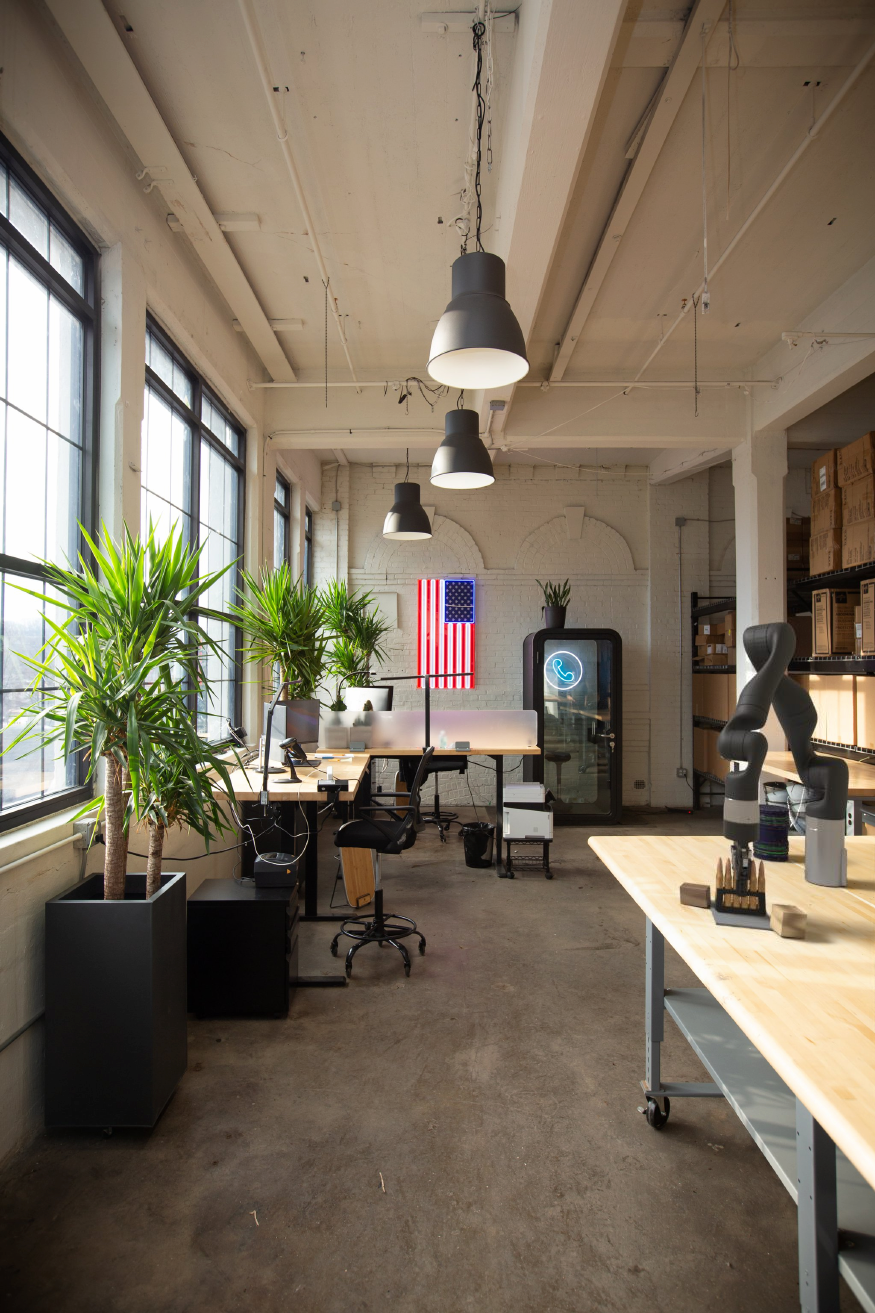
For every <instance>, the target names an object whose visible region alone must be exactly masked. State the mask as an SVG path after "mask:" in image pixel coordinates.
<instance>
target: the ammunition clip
mask: <svg viewBox="0 0 875 1313" xmlns="http://www.w3.org/2000/svg"><path fill="white" fill-rule="evenodd" d="M751 860H752V864H751V871H750V879H749V880H748V881H747V896H746V897H738V896H737V895H736V878H735V876H736V869H735V868H734V874H733V873H732V863H731V859H730V857H727V859H726V862H725V868H724V866H723V859H722V857H721V856H719V857H718V859H717V865H716V874H715V892H714V895H715V896H714V900H715V906H714V908H715V910H716V911H726V912H735V913H745V914H755V915H766V913H767V904H766V902H767V901H766V900H767V898H766V897H767V896H766V878H765V865H764V862H763V861H764V860H760V862H759V865H758V873H757V866H756V862H755V860H754V859H751ZM737 865H738V864H737ZM723 868H724V869H723ZM724 870H725V871H724ZM732 874H733V875H732ZM742 874H745V873H744V872H742ZM757 874H758V876H757ZM723 901H724V903H723ZM748 904H749V906H748Z"/></svg>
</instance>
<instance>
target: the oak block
mask: <svg viewBox="0 0 875 1313" xmlns="http://www.w3.org/2000/svg"><path fill="white" fill-rule="evenodd" d="M807 920H808V913H806V912H804V911H803V910H802V909H800V908H799V907H798V906H795V905H790V904H778V903H771V912H770V927H771V928H772V929H773V930H774V931H775V933H776V934H778V935H779V936H780V937H787V938H798V939H806V931H807V930H806V929H807ZM774 931H773V932H774Z"/></svg>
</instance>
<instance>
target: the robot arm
mask: <svg viewBox="0 0 875 1313" xmlns="http://www.w3.org/2000/svg"><path fill="white" fill-rule="evenodd" d="M742 643H743V648H744V650H745V653H746V655H747V658H748V660H749V662H750V663H751V666H752V667H753V669H754V670H755V672H756V674H755V675H754V676H753V677H752V678H751V679H750V680H749V681H748V682H746V684H745V686H744V687H743V688H742V690H741V691H740V694H739V696H738V701H737V703H736V707H735V710H734V713H733V714H732V716H731V718H730V719H729V720H728V722H726V724H725V726H724V727H723V728H722V730H721V731H720V733H719V735H718V737H717V738H718V739H717V742H716V748H717V749H716V750H717V753H718V754H719V756H720V757H721V758H722V759H724V760H728V761H735V762H736V761H737V762H744V763H745V762H746V763H747V766H746V767H745V769H742V770H733V771H729V772H727V773H726V775H725V778H724V780H725V781H724V782H725V783H724V785H725V786H724V787H725V788H724V789H725V790H724V791H725V792H724V803H723V834H722V835H723V837H724V838H725V839H727V840H729V841H732V842H733V843H732V844H731V845H730V853H731V859H730V863H731V871H732V874H734V868H735V869H736V876H735V878H736V895H737V896H738V897H740V898H741V897H746V896H747V881H748V880H749V879H750V871H751V864H752V860H753V859H752V857H753V852H752V851H753V849H750V846H749V844H750V843H753V842H757V841H758V840H759V822H760V809H759V804H760V803H759V796H760V795H759V792H760V790H759V788H760V786H759V785H760V780H761V779H760V777H761V773H762V769H763V765H764V763H765V760H766V758H767V754H768V750H769V742H768V739H767V737H766V736H765V735H764V734H763V733H762V732H760V731H757V730H761V729H763V728H764V727H765V725H766V723H767V721H768V716H769V713H770V708H771V705H772V708H773V711H774V713H775V716H776V718H777V720H778V722H779V724H780V727H781V729H782V731H783V733H784V736H785V738H786V740H787V743H788V747H789V749H790V751H791V754H792V755H791V756H792V759H793V761H794V762H793V763H794V765H795V768H796V772H797V775H798V777H799V780H800V781H801V783H802V785H804V787H806V788H808V789H811V790H817V791H823V792H824V797H823V799H821V800H819V801H816V802H815V801H813V802H809V803H807V804H806V806H805V822H804V823H805V825H804V826H805V828H804V833H805V834H804V872H803V873H804V880H805V881H806V882H808V883H811V884H815V885H819V886H825V887H847V886H848V885H847V881H848V879H847V878H848V871H847V870H848V849H847V848H845V845H846V844H845V840H846V838H845V836H846V835H845V834H846V812H847V807H848V800H849V799H848V796H849V781H850V772H849V770H850V769H849V767H848V764H847V762H846V760H844V759H843V758H839V757H836V756H826V755H820V754H817V753H816V752H815V750H814V748H813V744H812V741H811V740H812V737H813V735H814V732H815V731H816V727H817V724H818V720H819V717H818V711H817V709H816V706H815V705H814V702H813V699H812V697H811V695H810V693H809V692H808V691H807V690H806V689H805V688H804V687H803V686H802V685H801V684H799V682H797V681H795V679H793V678H792V677H790V676H789V675H787V674H786V673H785V672H786V671H787V669H788V666H789V664H790V662H791V660H792V658H793V655H794V653H795V650H796V645H797V637H796V633H795V630H794V627H792V625H791V624H790V623H788V622H785V621H776V622H770V623H762V624H756V625H751V626H748V627H746V628H745V630H744V631H743V633H742ZM737 864H738V865H737ZM742 872H744V873H745V874H742Z"/></svg>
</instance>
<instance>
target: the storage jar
mask: <svg viewBox="0 0 875 1313" xmlns="http://www.w3.org/2000/svg"><path fill="white" fill-rule="evenodd" d="M759 809H760V822H759V840H758V841H757V842H752V851H753V852H752V857H753V858H755V859H757V860H760V861H761V860H762V861H767V862H771V863H785V862H788V861H789V852H790V842H789V828H790V819H791V818H790V809H789V808H788V807H787V806H782V805H776V804H764V803H763V804H760V803H759Z"/></svg>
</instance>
